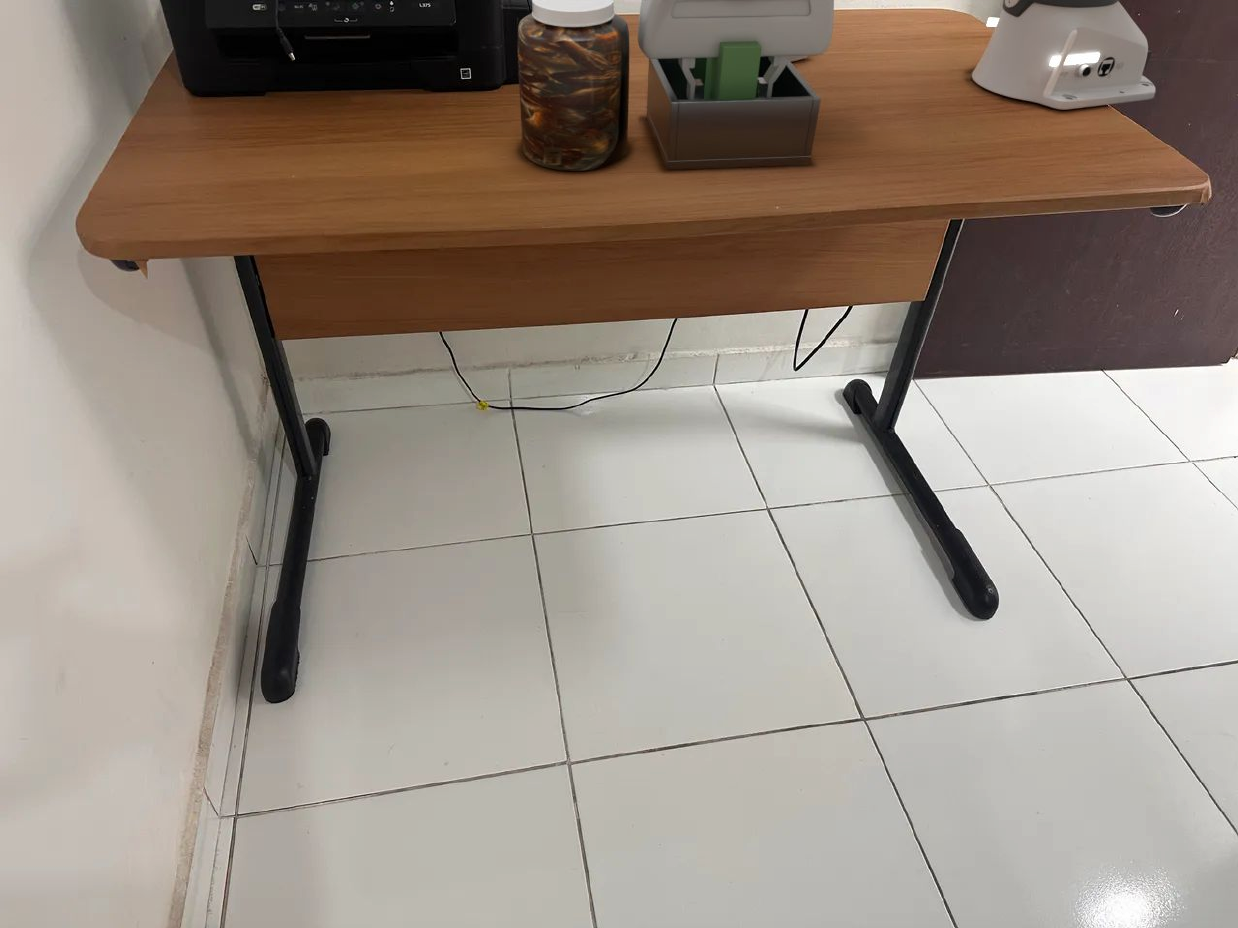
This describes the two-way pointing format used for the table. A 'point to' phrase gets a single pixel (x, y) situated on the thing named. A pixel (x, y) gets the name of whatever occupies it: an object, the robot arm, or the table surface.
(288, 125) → the table surface
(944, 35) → the table surface
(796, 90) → the open box
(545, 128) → the jar
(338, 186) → the table surface
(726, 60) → the block
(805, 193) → the table surface
